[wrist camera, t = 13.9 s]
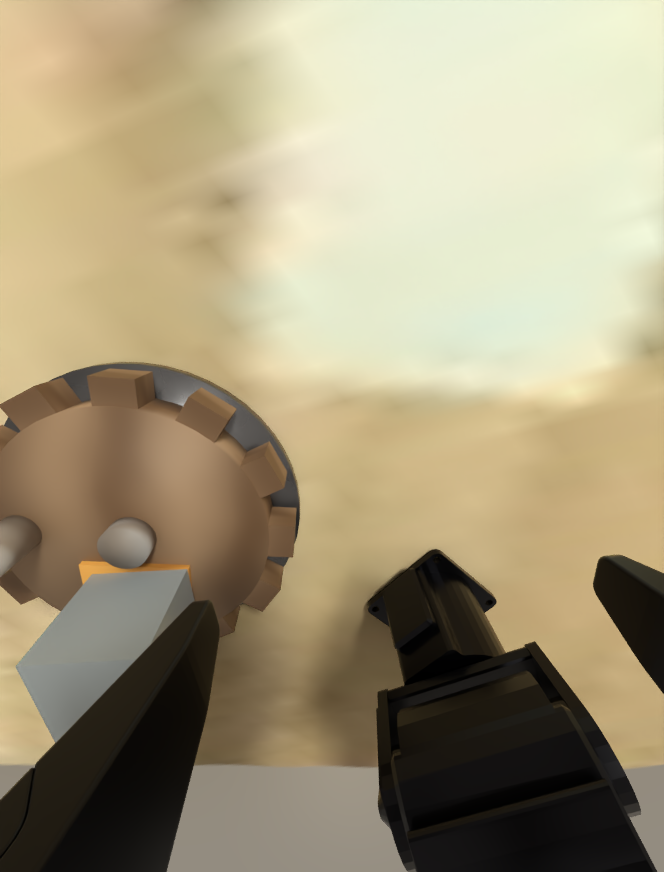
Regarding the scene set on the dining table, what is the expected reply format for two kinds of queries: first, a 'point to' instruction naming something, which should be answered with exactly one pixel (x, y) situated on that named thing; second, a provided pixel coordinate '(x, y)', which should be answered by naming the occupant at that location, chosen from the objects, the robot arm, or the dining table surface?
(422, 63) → the dining table surface
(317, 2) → the dining table surface
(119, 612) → the block
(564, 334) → the dining table surface
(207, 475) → the index wheel
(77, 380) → the base plate
